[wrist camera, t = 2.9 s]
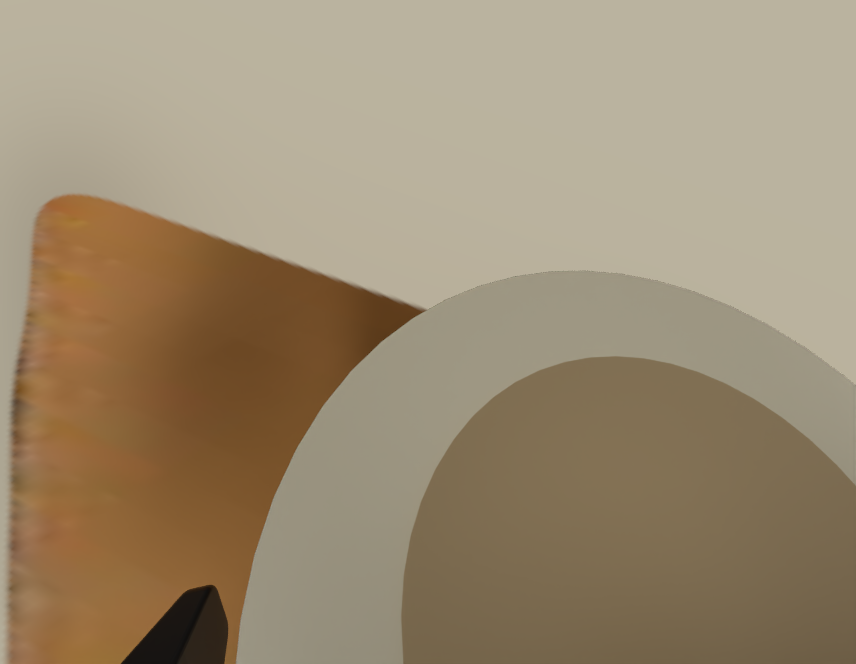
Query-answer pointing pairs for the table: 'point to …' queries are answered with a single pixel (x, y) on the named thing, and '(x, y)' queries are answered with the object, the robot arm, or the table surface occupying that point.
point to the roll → (568, 491)
